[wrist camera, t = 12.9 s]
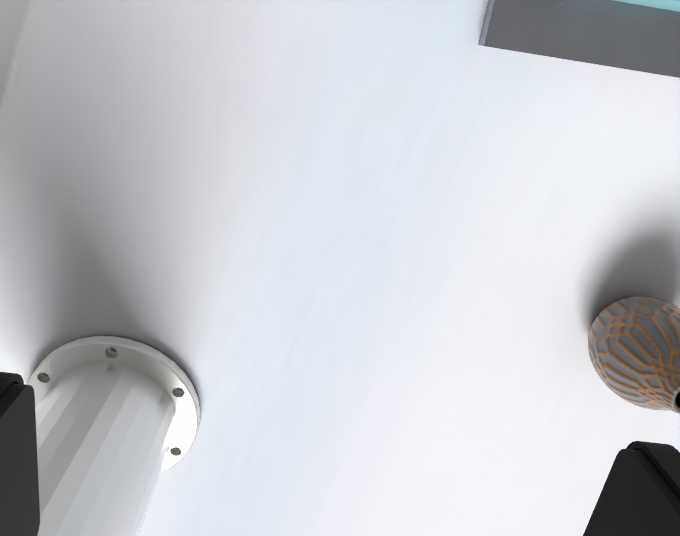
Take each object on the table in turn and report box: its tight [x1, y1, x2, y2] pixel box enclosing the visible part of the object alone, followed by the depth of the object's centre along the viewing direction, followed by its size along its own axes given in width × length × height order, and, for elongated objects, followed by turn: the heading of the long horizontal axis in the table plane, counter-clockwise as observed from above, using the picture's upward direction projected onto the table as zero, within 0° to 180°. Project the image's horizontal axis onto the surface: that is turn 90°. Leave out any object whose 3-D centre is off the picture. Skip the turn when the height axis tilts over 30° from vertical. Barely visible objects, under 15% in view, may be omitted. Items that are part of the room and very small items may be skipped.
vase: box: [588, 296, 680, 414], centre depth 38 cm, size 7×7×9 cm
